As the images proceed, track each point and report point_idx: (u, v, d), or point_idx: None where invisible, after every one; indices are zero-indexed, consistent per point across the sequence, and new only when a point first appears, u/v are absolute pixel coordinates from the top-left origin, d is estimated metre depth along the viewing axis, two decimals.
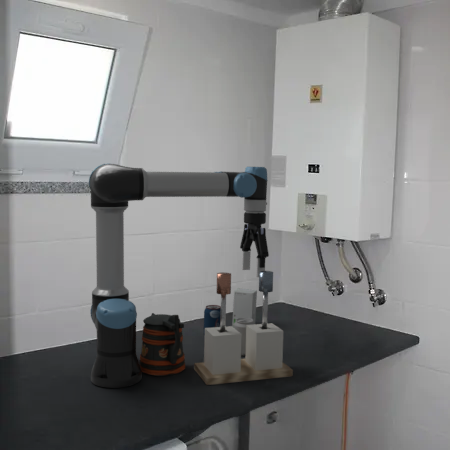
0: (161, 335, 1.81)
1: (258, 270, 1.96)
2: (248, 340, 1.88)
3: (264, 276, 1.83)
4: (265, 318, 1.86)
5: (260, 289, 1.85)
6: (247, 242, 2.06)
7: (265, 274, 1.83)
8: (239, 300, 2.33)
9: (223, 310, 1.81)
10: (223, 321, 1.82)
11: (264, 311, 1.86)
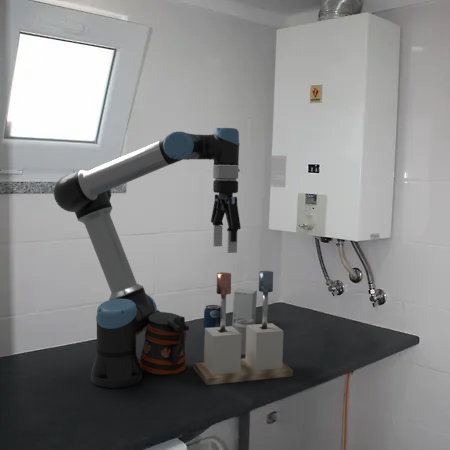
0: (165, 334, 1.80)
1: (229, 245, 1.73)
2: (248, 340, 1.88)
3: (264, 276, 1.83)
4: (265, 318, 1.86)
5: (260, 289, 1.85)
6: (218, 215, 1.83)
7: (265, 274, 1.83)
8: (239, 300, 2.33)
9: (223, 310, 1.81)
10: (223, 321, 1.82)
11: (264, 311, 1.86)
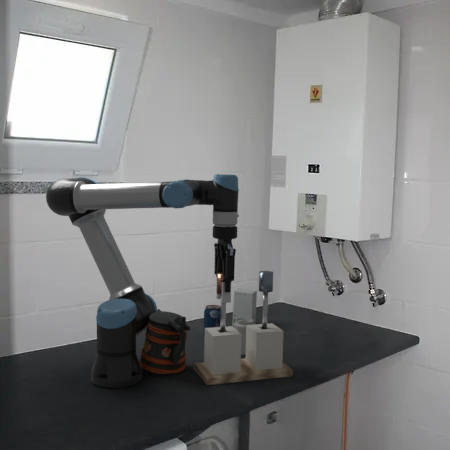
0: (166, 334, 1.80)
1: (223, 295, 1.78)
2: (248, 340, 1.88)
3: (264, 276, 1.83)
4: (265, 318, 1.86)
5: (260, 289, 1.85)
6: (220, 263, 1.82)
7: (265, 274, 1.83)
8: (239, 300, 2.33)
9: (223, 310, 1.81)
10: (223, 321, 1.82)
11: (264, 311, 1.86)
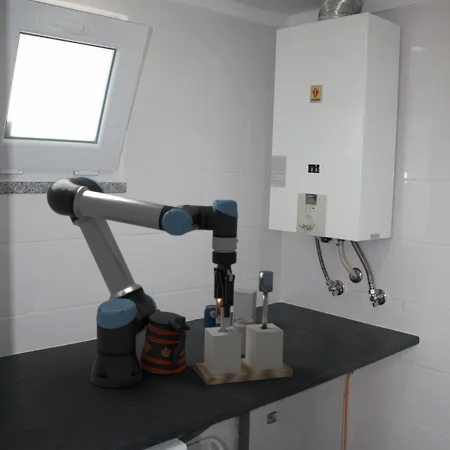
0: (166, 334, 1.80)
1: (223, 320, 1.79)
2: (248, 340, 1.88)
3: (264, 276, 1.83)
4: (265, 318, 1.86)
5: (260, 289, 1.85)
6: (219, 288, 1.83)
7: (265, 274, 1.83)
8: (239, 300, 2.33)
9: None
10: None
11: (264, 311, 1.86)
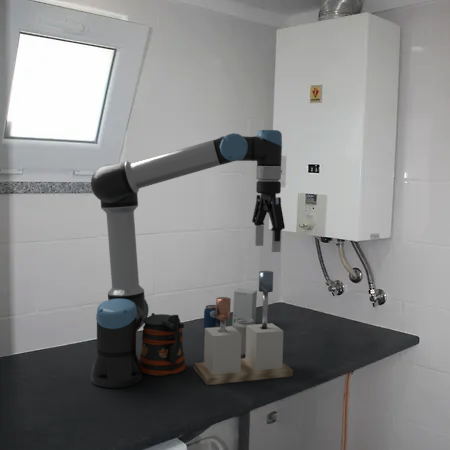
0: (161, 335, 1.81)
1: (273, 244, 1.77)
2: (248, 340, 1.88)
3: (264, 276, 1.83)
4: (265, 318, 1.86)
5: (260, 289, 1.85)
6: (260, 215, 1.87)
7: (265, 274, 1.83)
8: (239, 300, 2.33)
9: None
10: None
11: (264, 311, 1.86)
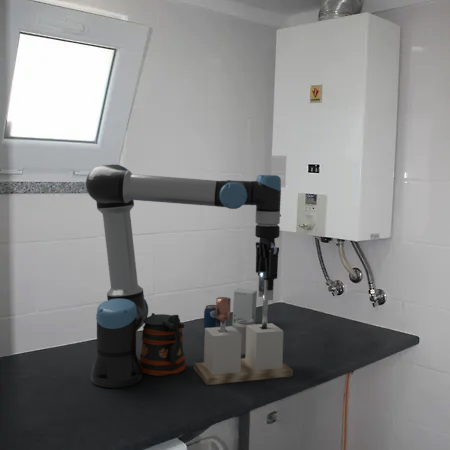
0: (161, 335, 1.81)
1: (266, 293, 1.83)
2: (248, 340, 1.88)
3: (264, 276, 1.83)
4: (265, 318, 1.86)
5: (260, 289, 1.85)
6: (262, 261, 1.87)
7: (265, 274, 1.83)
8: (239, 300, 2.33)
9: None
10: None
11: (264, 311, 1.86)
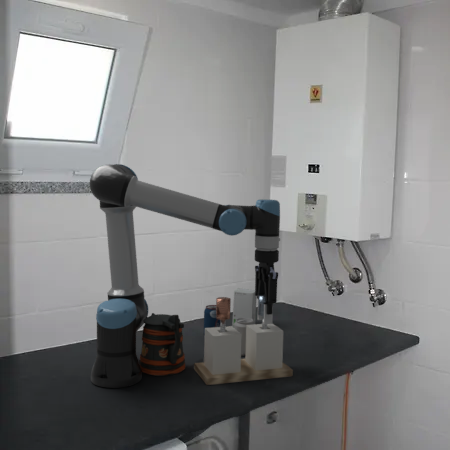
0: (161, 335, 1.81)
1: (265, 317, 1.84)
2: (248, 340, 1.88)
3: (263, 300, 1.84)
4: None
5: (259, 313, 1.85)
6: (261, 285, 1.87)
7: (264, 298, 1.84)
8: (239, 300, 2.33)
9: None
10: None
11: None
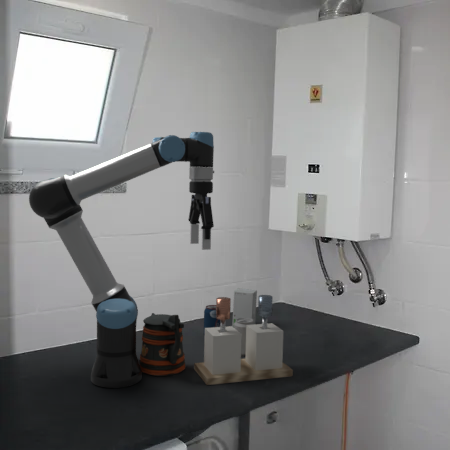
0: (161, 335, 1.81)
1: (203, 242, 1.84)
2: (248, 340, 1.88)
3: (263, 301, 1.84)
4: None
5: (259, 313, 1.85)
6: (194, 214, 1.94)
7: (264, 299, 1.84)
8: (239, 300, 2.33)
9: None
10: None
11: None
